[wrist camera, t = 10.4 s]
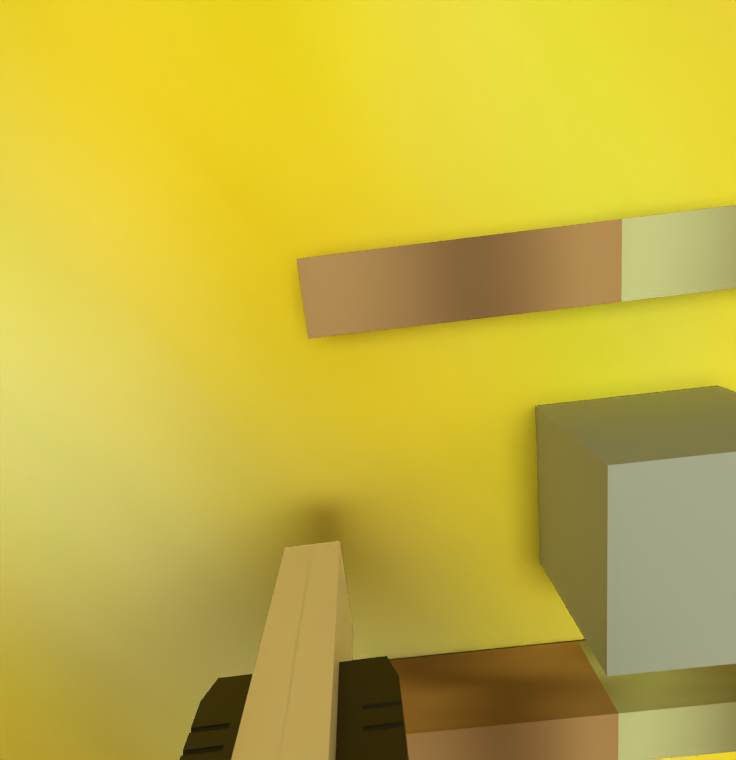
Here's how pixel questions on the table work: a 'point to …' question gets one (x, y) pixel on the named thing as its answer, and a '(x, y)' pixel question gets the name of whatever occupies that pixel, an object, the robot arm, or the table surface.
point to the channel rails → (557, 660)
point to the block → (643, 525)
